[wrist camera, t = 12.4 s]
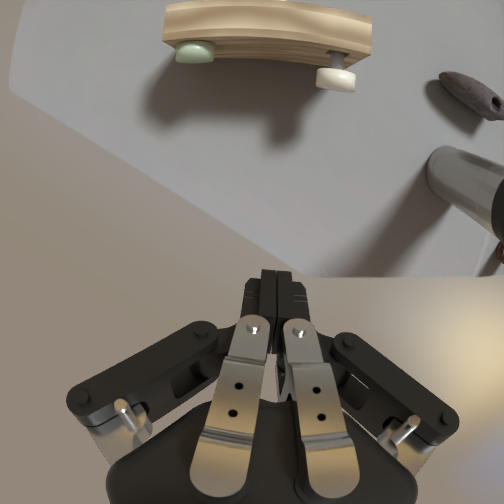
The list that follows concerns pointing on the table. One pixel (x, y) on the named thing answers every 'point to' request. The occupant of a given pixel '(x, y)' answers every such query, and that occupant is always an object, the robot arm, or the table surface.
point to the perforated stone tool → (474, 95)
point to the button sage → (195, 52)
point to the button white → (336, 75)
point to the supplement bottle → (500, 252)
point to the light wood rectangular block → (270, 30)
